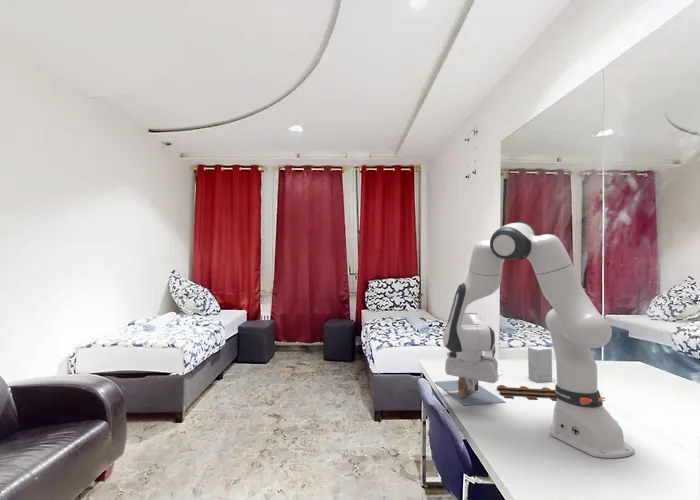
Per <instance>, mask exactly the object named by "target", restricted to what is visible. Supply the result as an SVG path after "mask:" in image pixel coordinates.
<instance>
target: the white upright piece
mask: <svg viewBox="0 0 700 500" xmlns="http://www.w3.org/2000/svg"><path fill="white" fill-rule="evenodd" d="M483 352H484V353H483V356H485V357H492V358H494V359H495V360H496V358H495V356H496V355H495V354H496V344H494V346H493V347H492V348H491V349H490V350H487V351H483ZM495 360H493V361H495ZM497 372H498V377H500V376H501V377H502V376H503V372H502V371H501V370H498V369H497Z"/></svg>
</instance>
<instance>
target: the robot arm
mask: <svg viewBox="0 0 700 500" xmlns="http://www.w3.org/2000/svg"><path fill="white" fill-rule="evenodd" d="M525 259H527V260H528V262H530V265H531V267H532V269H533V271H534V274H535V277H536V279H537V282H538V284H539V287H540V290H541V292H542V295H543V297H544V298H545V300H546V301H548V303H549V304H550V306H551V307H552V309H550V310H549V311H548V312H547V313H546V316H545V325H546V327H547V329H548V331H549V334H550V338H551V343H552V347H553V350H554V356H555V362H556V365H555V366H556V384H555V387H554V390H555V396H556V397H557V400H556V401H555V404H554V407H553V415H552V426H551V429H550V430H549V435H550V437H554V439H557V440H559V441H561V442H563V443H565V444H567V445H569V446H571V447H574V448H575V449H578V450H579V451H581V452H584V453H585V454H588V455H590V456H592V457H596V458H603V459H617V458H624V457H629V456H632V455H634V454H635V448H634V447H633V446H631V445H630V444H628V443H627V442H626V441H625V440H624V439H625V437H624V432H623V429H622V427H621V426H620V424H619V423H618V421H617V420H615V418H614V417H613V416H612V415H611V414H610V412H608V410H607V409H606V408H605V407H604V406H603V405H604V403H603V402H606V400H605V399H606V397H605V396H604V397H602V396H601V393H600V390H599V389H598V365H597V363H596V360H595V358H594V356H593V354H592V352H591V349H600V348H603V347H605V346H606V345H608V344H609V342H610V341H611V339H612V336H613V329H612V326H611V324H610V323H609V321H608V320H607V319H605V318H604V316H602V314H601V313H600V312H599V311H598V309H597V308H596V306H595V305H594V303H593V302H592V300H591V299H590V297H589V296H588V295H587V293H586V291H585V290H584V288H583V286H582V284H581V282H580V280H579V277H578V274H577V272H576V269H575V266H574V264H573V262H572V259H571V258H570V255H569V253H568V252H567V250H566V247H565V246H564V244H563V242H562V241H561V240H560V238H559V237H558V236H556V235H554V234H547V233H546V234H541V235H537V232H536V230H535V228H534V227H533V226H532V225H531V224H529V223H527V222H525V221H514V222H512V223H507V224H504V225H503V226H501V227H500V228H498V229H497V230H495V231H494V232H493V234H491V237H490V239H482V240H480V241H477V242H476V243H475V244H474V247H473V250H472V252H471V257H470V261H469V267H468V268H469V269H468V275H466V279H465V280H464V281H463V282H462V283H460V284H459V285H458V286H457V289H456V292H455V294H454V298H453V301H452V305H451V308H450V312H449V315H448V319H447V323H446V324H445V327H444V330H443V334H442V342H443V346H444V347H445V348H446V349H447V350H448V351H447V353H446V356H447V357H446V360H445V365H444V367H445V368H444V371H445V374H446V375H448V376H451V377H452V376H453V377H456V378H457V377H458V378H459V377H462V378H465V382H466V384H467V385H468V390H471V391H474V390H475V385H476V383H477V380H478V382H484V383H490V384H496V383H497V382H498V380H499V376H498V372H497V370H498V368H499V367H498V366H499V363H498V361H497V360H496V358H495V359H494V358H492V357H485V356H484V355H483V352H484V351H487V350H490V349H491V348H492V347H493V346H494V344H495V343H496V336H495V335H496V334H495V331H494V330H493V329H492V327H490V326H489V325H488V324H485V322H484V321H483V320H482V316H481V315H480V314H479V313H476V312H475V313H474V312H470V313H469V312H467V313H466V310H467V307H469V305H470V304H472V303H473V302H476V301H478V300H480V299H483V298H486V297H488V296H489V297H490V296H491V295H492V294H494V293H495V292H496V291H497V290H498V289H499V288H500V285H501V282H502V278H503V277H502V276H503V267H504V266H503V265H504V262H505V260H506V261H507V260H508V261H509V260H510V261H511V260H517V261H518V260H519V261H521V260H522V261H523V260H525ZM495 345H496V344H495ZM493 360H495V361H493ZM470 379H472V382H473V384H472V385H471V384H470V382H469V380H470Z"/></svg>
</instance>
